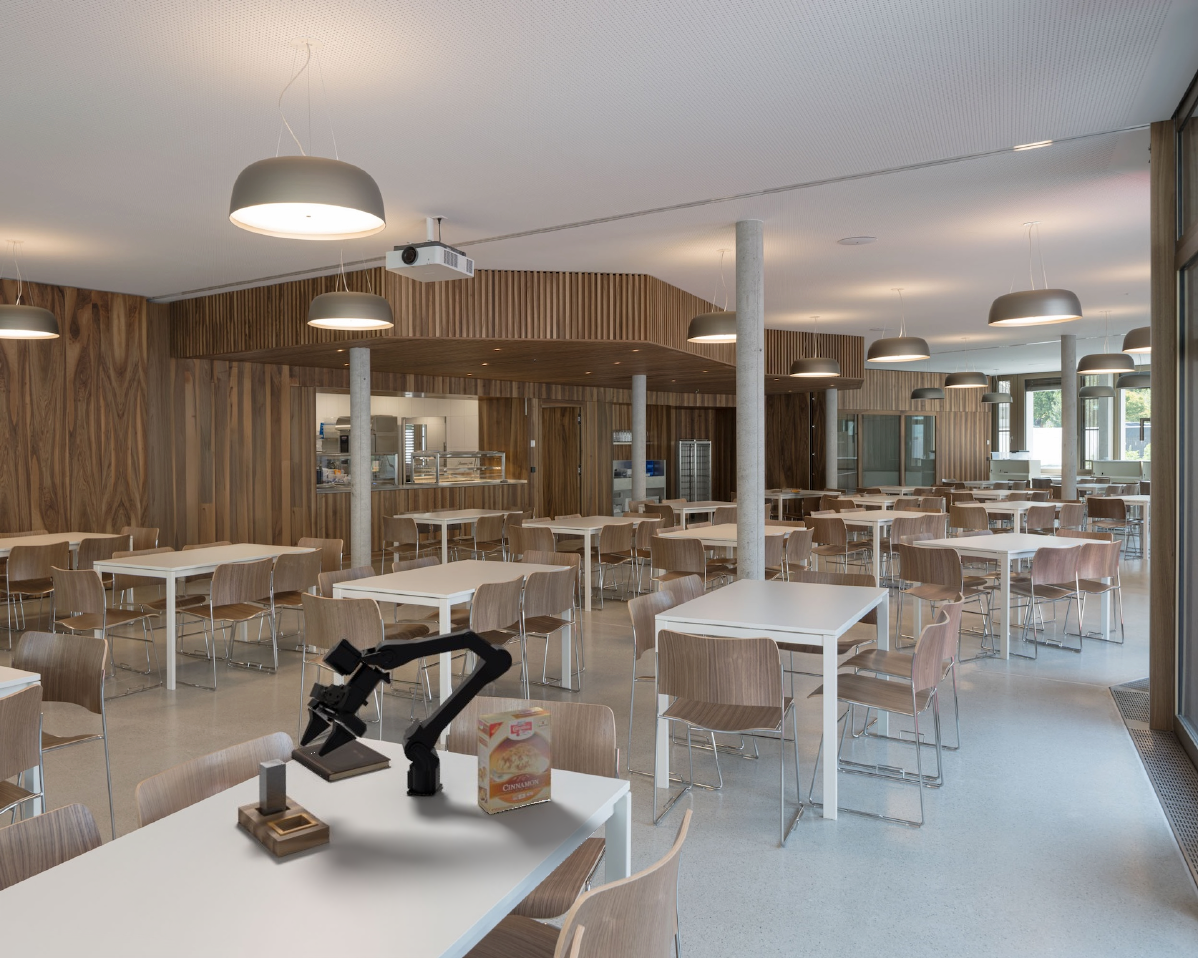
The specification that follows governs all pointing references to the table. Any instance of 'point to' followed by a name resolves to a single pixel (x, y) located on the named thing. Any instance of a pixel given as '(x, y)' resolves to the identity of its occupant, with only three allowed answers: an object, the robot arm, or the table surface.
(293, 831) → the wooden peg holder
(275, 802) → the peg
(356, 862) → the table surface
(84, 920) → the table surface
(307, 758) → the hardcover book
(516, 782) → the coffeecake box
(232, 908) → the table surface
